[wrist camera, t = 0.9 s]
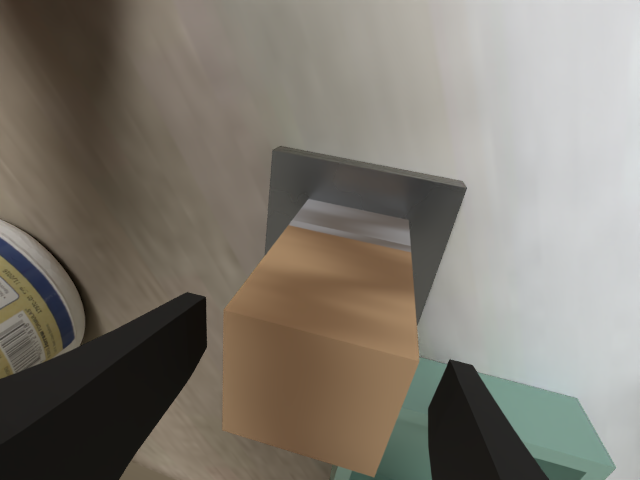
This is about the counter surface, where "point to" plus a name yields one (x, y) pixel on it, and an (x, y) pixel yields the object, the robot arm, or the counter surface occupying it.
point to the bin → (522, 413)
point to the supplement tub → (34, 304)
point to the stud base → (368, 202)
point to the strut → (324, 338)
